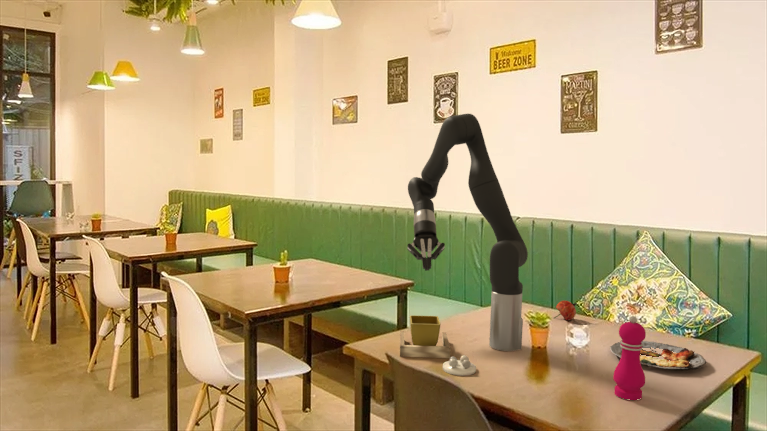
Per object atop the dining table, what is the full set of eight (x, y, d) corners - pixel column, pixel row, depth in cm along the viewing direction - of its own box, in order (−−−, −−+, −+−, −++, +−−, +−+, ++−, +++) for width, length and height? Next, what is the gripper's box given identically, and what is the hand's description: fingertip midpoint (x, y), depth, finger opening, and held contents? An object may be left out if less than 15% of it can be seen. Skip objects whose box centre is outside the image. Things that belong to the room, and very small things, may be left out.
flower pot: (439, 353, 168) (440, 324, 168) (410, 353, 168) (410, 323, 168) (437, 344, 177) (438, 315, 176) (408, 343, 177) (409, 315, 176)
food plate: (714, 360, 168) (715, 348, 168) (691, 382, 151) (692, 369, 151) (627, 343, 185) (628, 332, 185) (598, 361, 168) (598, 349, 168)
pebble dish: (473, 364, 160) (474, 352, 160) (478, 376, 151) (478, 363, 151) (441, 363, 161) (442, 351, 160) (443, 374, 152) (444, 362, 151)
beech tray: (445, 341, 180) (446, 332, 180) (449, 358, 165) (450, 347, 165) (400, 340, 180) (400, 330, 180) (399, 356, 165) (400, 346, 165)
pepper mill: (606, 390, 144) (611, 312, 142) (634, 389, 145) (639, 312, 143) (621, 402, 137) (626, 320, 135) (650, 401, 138) (655, 320, 136)
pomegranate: (557, 327, 206) (581, 313, 203) (546, 310, 208) (569, 296, 205) (560, 324, 213) (584, 311, 210) (549, 307, 215) (572, 294, 212)
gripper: (405, 219, 192) (406, 263, 182) (444, 218, 192) (448, 262, 182) (405, 232, 199) (406, 275, 188) (443, 231, 198) (447, 274, 188)
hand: (427, 269), depth 185 cm, fingers closed
